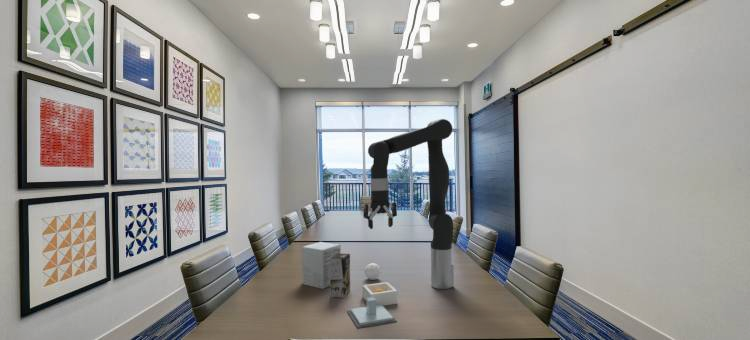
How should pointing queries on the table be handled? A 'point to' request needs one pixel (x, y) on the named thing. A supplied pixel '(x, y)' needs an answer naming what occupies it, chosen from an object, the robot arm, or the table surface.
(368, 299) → the lid
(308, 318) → the table surface
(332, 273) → the coffee box
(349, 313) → the mat
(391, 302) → the dish
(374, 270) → the geometric ball
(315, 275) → the supplement box
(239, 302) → the table surface
